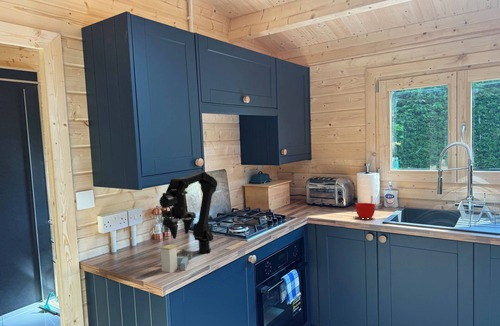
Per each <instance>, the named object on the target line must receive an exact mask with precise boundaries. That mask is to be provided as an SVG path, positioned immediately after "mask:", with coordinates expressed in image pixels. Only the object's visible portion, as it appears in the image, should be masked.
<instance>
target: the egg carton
mask: <svg viewBox="0 0 500 326" xmlns="http://www.w3.org/2000/svg"><path fill="white" fill-rule="evenodd" d="M193 255H194V252H190V251H189V252H188V250H185V248H182V249H180V251H178V252H177V257H183V256H188V260H192V259H193Z"/></svg>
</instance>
